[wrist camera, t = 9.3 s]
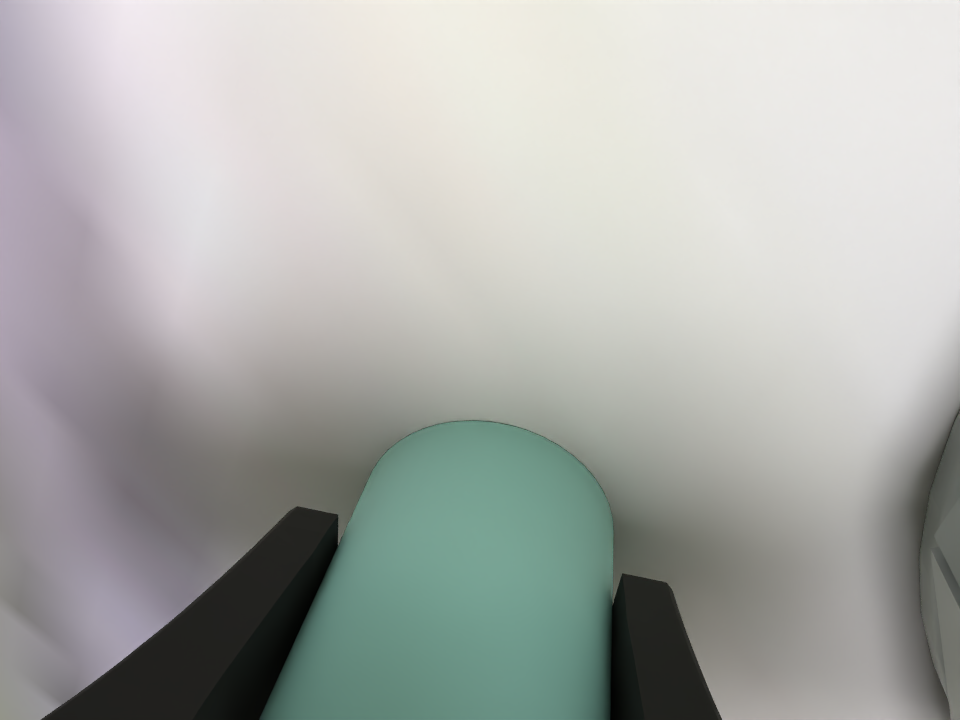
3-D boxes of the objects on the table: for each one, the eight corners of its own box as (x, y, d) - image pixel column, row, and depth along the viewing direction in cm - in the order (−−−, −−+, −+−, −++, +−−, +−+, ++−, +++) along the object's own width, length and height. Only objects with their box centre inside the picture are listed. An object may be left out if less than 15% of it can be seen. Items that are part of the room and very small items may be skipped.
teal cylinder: (642, 597, 12) (651, 957, 8) (420, 625, 14) (326, 951, 9) (570, 395, 11) (533, 718, 6) (323, 449, 12) (154, 749, 8)
